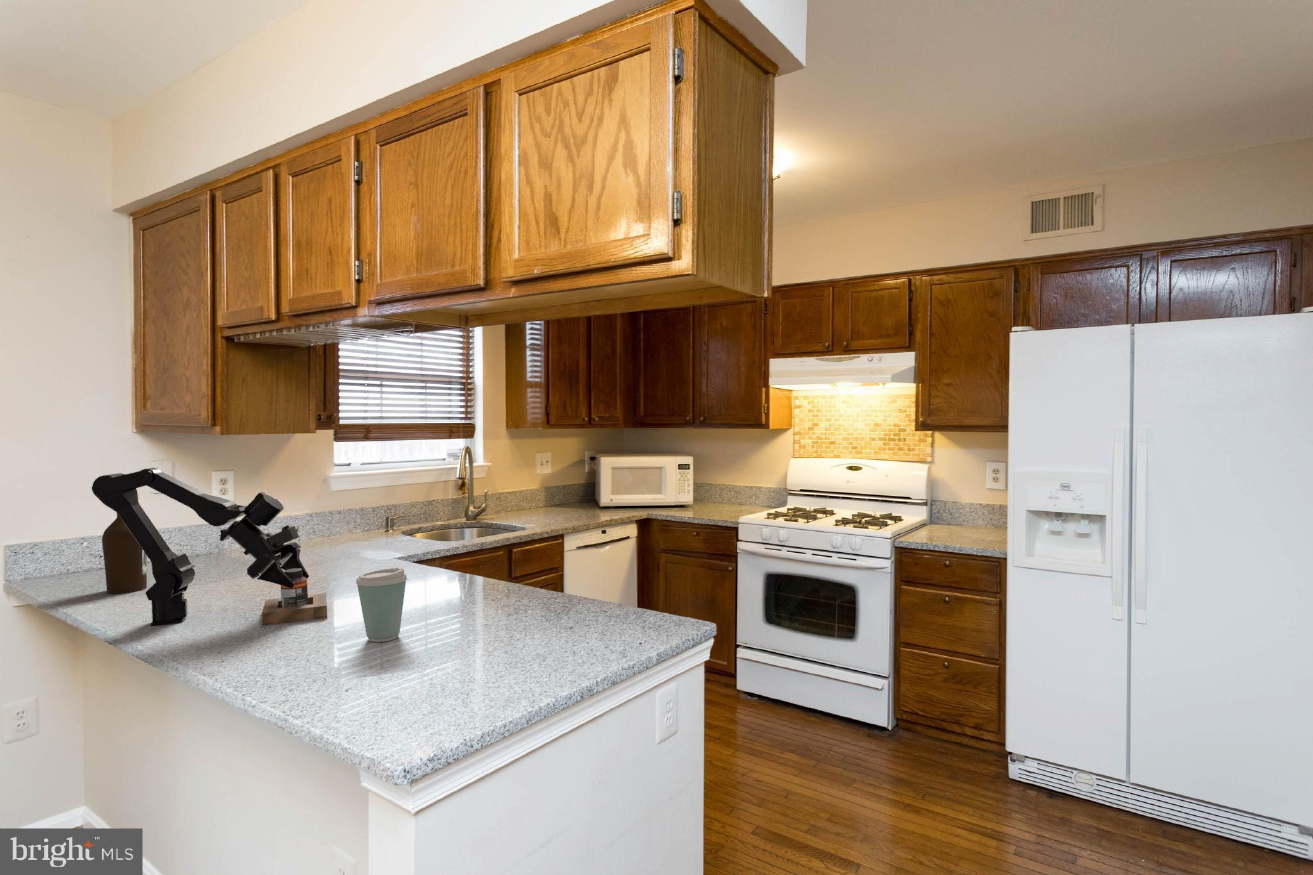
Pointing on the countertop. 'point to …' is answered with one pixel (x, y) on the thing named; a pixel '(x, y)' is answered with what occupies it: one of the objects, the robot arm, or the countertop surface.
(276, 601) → the bottle holder
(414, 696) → the countertop surface
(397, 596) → the disposable coffee cup
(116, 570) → the olive oil
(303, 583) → the supplement bottle
